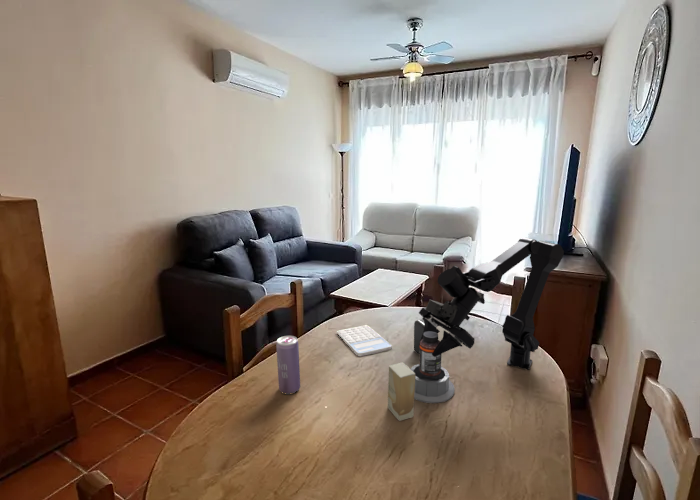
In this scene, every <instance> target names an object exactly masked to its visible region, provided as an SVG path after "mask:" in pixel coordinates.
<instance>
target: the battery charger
mask: <svg viewBox="0 0 700 500" xmlns="http://www.w3.org/2000/svg"><path fill="white" fill-rule="evenodd" d="M413 323H414V325H413V351H414V352H415V353H416V354H417V355H418V356H420V346H419V343H420V340H421V337H422V334H423V331H424V326H425V325H424V320H423V319H416V320H415V321H414V322H413Z"/></svg>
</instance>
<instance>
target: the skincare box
mask: <svg viewBox="0 0 700 500" xmlns="http://www.w3.org/2000/svg"><path fill="white" fill-rule="evenodd" d="M387 379H388V384H387V408H388V410H389V411H390V412H391V413H392V414H393V416H394V417H395V419H397V420H398V421H399V422H401V421H404V420H407V419H410V418H413V417H414V414H415V413H414V408H415V399H414V393H415V373H414V372H413V371H412V370H411V367H409V366H408V365H406V364H405V363H404V362H403V361H402V362H397V363H393V364H389V365H388V377H387Z"/></svg>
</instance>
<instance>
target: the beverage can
mask: <svg viewBox="0 0 700 500" xmlns="http://www.w3.org/2000/svg"><path fill="white" fill-rule="evenodd" d="M275 347H276V361H277V363H276V364H277V365H276V366H277V379H278V382H277V383H278V390H279V391H280V393H282V392H283V393H286V394H285V395H291V394H290V393H294V394H295V392H296V391H297V392H299V390H300V388H301V375H300V373H301V372H300V371H301V369H300V352H299V349H300V348H299V341H298V338H297V337H296V336H294V335H284V336H281V337H279V338H277V340H276V346H275ZM297 392H296V393H297ZM283 393H282V394H283Z"/></svg>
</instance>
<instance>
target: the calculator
mask: <svg viewBox="0 0 700 500" xmlns="http://www.w3.org/2000/svg"><path fill="white" fill-rule="evenodd" d="M337 333H338V334H339V336H340V337H341V338H342V339H343V340H344V341H345V342H346V343H347V345H348V346H349V347H350V348H351V349H352V350H353V351H354V352H353V351H352V350H351V349H350V348H349V347H348V346H347V345H346V346H347V347H348V348H349V349H350V350H351V351H352V352H353V353H354V354H355V355H356V356H357V355H358V356H357V357H365V356H369V355H372V354H373V355H374V354H377V353H381V352H385V351H391V350H393V344H391V343H390V342H389V341H388V340H387V339H385V338H384V337H383V336H382V335H380V334H379V333H378V332H377V331H376V330H374V329H373V328H372V327H370V326H369V325H368V324H365V325H359V326H355V327H349V328H345V329H340V330H337V331H336V334H337ZM339 336H338V337H339ZM340 337H339V338H340ZM341 338H340V339H341Z"/></svg>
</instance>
